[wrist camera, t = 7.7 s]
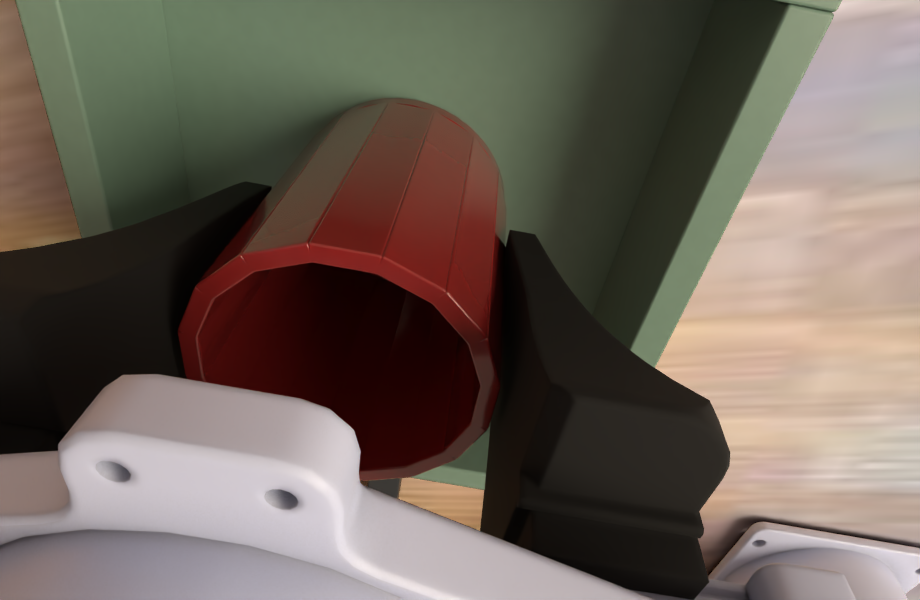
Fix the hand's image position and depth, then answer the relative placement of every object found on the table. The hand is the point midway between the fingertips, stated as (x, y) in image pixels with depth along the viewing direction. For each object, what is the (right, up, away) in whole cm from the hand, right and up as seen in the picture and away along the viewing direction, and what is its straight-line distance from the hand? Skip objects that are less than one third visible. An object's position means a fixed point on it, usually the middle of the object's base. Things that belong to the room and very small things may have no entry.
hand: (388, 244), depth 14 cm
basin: (0, +2, +2) cm, 3 cm away
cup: (0, +1, +2) cm, 2 cm away
